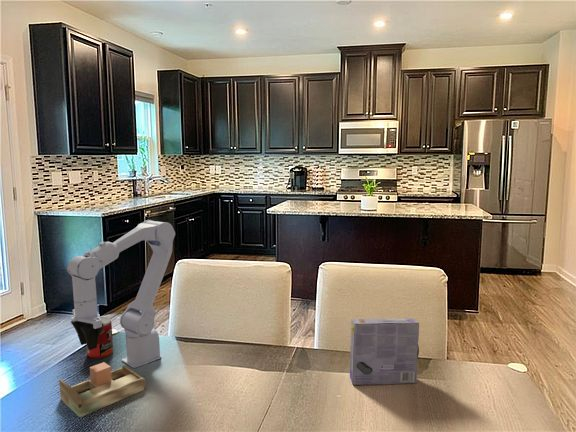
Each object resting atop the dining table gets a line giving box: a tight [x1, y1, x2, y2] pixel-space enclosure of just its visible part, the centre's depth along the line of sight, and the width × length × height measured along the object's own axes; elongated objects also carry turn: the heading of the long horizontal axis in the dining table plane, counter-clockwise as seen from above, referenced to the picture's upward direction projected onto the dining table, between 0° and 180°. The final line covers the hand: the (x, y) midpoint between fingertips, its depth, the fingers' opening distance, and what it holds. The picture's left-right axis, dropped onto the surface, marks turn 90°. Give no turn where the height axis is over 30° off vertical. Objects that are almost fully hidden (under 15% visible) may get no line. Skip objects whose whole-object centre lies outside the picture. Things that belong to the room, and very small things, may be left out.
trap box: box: [58, 364, 147, 418], centre depth 117 cm, size 18×12×5 cm
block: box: [89, 361, 112, 386], centre depth 119 cm, size 4×4×4 cm
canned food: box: [85, 316, 114, 359], centre depth 141 cm, size 8×8×11 cm
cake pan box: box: [349, 317, 420, 386], centre depth 122 cm, size 19×5×18 cm, turn 94°
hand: (88, 346), depth 122 cm, fingers open, 4 cm apart
